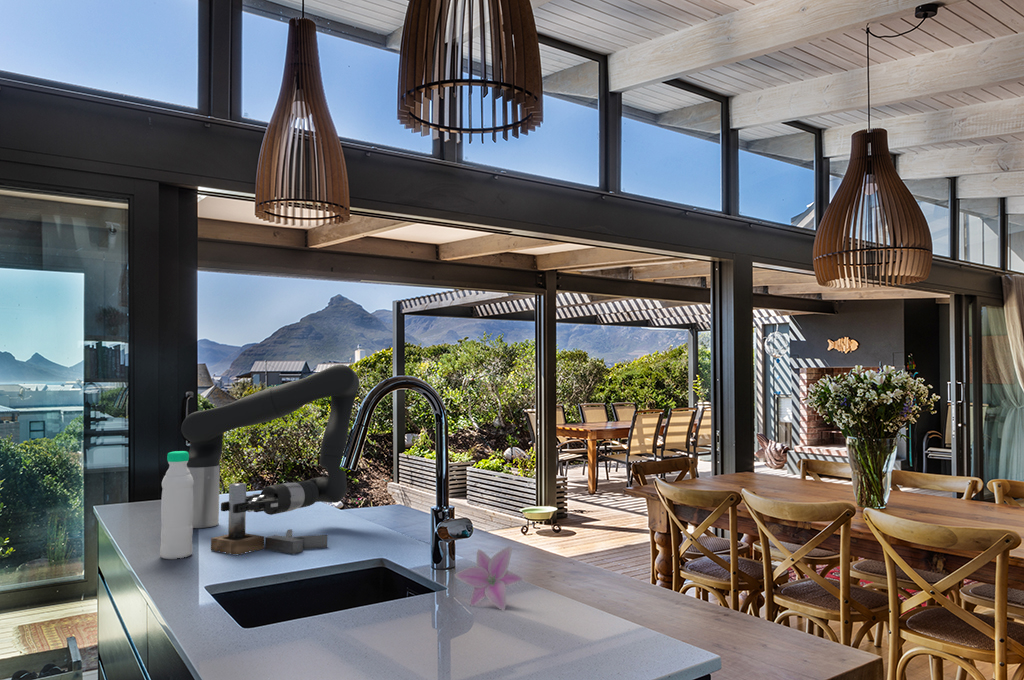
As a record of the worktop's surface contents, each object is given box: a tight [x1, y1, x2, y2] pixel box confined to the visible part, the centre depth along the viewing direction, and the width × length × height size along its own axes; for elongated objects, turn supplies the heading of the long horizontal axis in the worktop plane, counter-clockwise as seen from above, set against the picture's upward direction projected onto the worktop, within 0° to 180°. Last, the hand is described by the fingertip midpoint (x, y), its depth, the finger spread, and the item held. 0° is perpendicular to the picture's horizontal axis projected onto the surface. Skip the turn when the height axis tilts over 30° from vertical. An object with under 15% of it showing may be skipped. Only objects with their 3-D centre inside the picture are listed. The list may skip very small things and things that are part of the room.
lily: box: [454, 546, 524, 611], centre depth 138 cm, size 12×12×10 cm
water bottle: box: [159, 450, 194, 560], centre depth 175 cm, size 7×7×25 cm
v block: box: [264, 529, 328, 555], centre depth 182 cm, size 14×10×3 cm
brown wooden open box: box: [210, 532, 265, 555], centre depth 181 cm, size 10×8×3 cm
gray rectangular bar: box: [227, 482, 247, 541], centre depth 181 cm, size 4×4×14 cm
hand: (228, 508), depth 179 cm, fingers closed on gray rectangular bar, 4 cm apart
